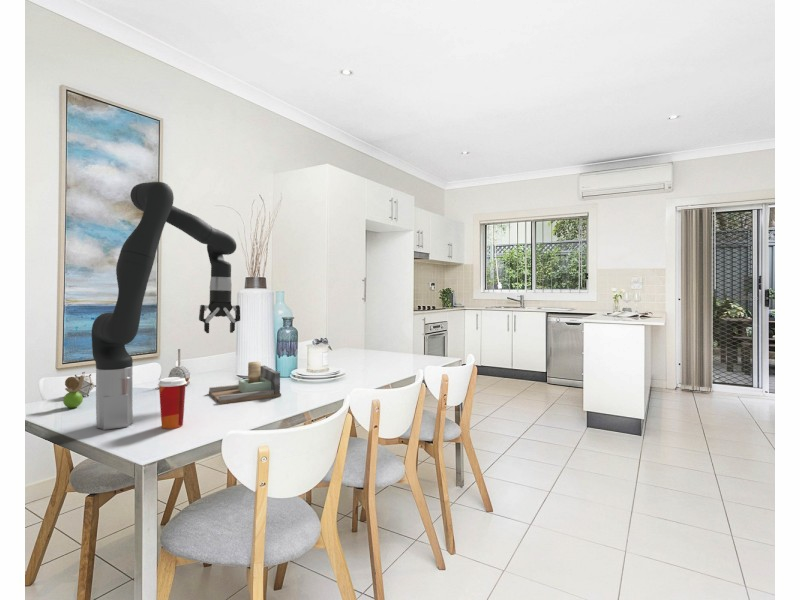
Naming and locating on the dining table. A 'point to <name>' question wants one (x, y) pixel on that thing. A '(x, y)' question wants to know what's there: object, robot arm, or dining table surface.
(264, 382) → the green square tray
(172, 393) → the paper cup
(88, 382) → the spiky polyhedron ball
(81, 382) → the snail figurine
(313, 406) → the dining table surface
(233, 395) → the track
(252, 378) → the dowel
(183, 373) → the decorative ornament
